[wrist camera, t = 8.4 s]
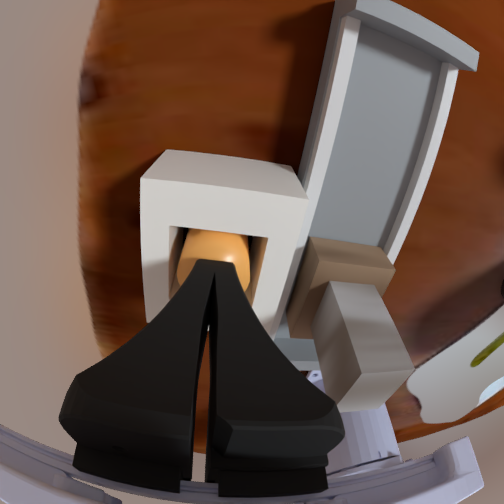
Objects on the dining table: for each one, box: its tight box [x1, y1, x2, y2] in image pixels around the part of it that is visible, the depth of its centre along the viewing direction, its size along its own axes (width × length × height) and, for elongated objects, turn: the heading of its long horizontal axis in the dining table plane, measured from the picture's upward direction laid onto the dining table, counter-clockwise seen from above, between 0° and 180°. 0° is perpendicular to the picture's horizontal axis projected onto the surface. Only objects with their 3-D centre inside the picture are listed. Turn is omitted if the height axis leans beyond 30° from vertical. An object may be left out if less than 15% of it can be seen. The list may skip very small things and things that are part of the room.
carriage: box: [286, 236, 415, 413], centre depth 13 cm, size 5×4×7 cm
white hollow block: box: [140, 150, 309, 335], centre depth 13 cm, size 7×6×4 cm
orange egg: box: [177, 228, 250, 292], centre depth 13 cm, size 3×3×4 cm
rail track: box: [269, 0, 479, 370], centre depth 13 cm, size 20×6×3 cm, turn 170°
